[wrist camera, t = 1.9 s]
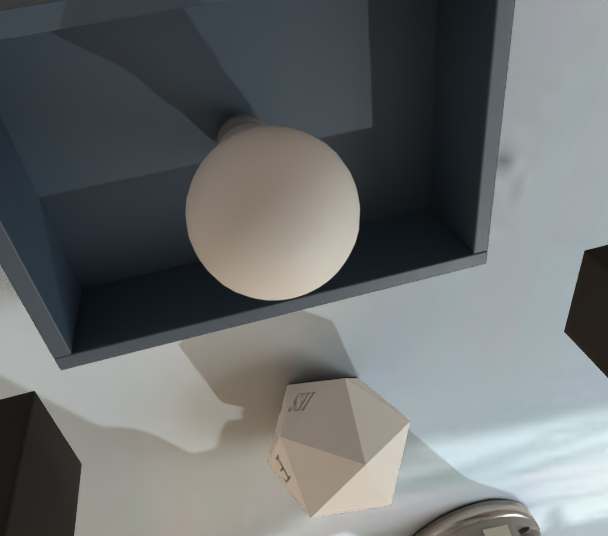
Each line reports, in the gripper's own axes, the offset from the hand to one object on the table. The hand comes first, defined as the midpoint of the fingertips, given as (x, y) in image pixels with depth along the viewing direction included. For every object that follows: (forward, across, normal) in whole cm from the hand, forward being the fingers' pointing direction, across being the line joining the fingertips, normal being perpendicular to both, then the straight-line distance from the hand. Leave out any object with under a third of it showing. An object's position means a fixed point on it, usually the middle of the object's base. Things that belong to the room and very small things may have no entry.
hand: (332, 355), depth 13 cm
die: (+16, -2, +21) cm, 26 cm away
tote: (+16, 0, 0) cm, 16 cm away
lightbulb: (+16, 0, 0) cm, 16 cm away
